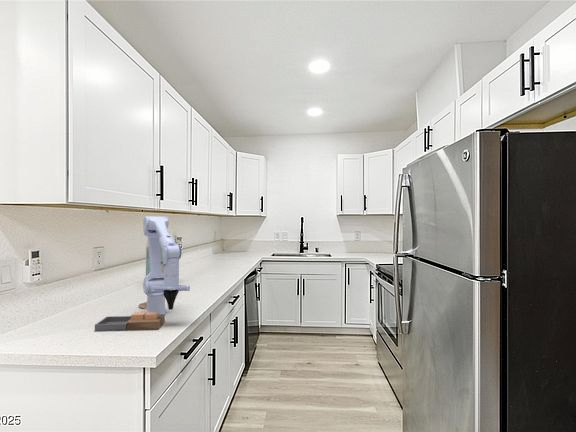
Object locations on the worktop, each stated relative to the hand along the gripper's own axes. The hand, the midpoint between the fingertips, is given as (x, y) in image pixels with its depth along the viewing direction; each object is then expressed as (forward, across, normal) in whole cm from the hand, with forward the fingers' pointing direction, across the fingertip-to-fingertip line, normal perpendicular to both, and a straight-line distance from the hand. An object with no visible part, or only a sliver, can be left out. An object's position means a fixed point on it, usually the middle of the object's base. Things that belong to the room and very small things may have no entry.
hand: (170, 309), depth 145 cm
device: (+6, -25, +94) cm, 98 cm away
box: (+6, -21, 0) cm, 22 cm away
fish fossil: (+7, -16, +42) cm, 46 cm away
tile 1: (+3, -12, 0) cm, 13 cm away
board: (+6, -9, 0) cm, 11 cm away
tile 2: (+3, -7, 0) cm, 8 cm away
